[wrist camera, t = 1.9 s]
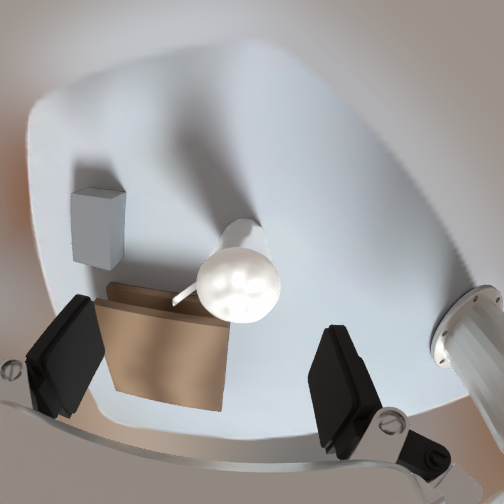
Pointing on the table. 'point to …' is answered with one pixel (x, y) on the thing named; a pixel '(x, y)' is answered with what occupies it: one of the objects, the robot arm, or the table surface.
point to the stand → (163, 346)
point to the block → (98, 227)
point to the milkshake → (237, 276)
